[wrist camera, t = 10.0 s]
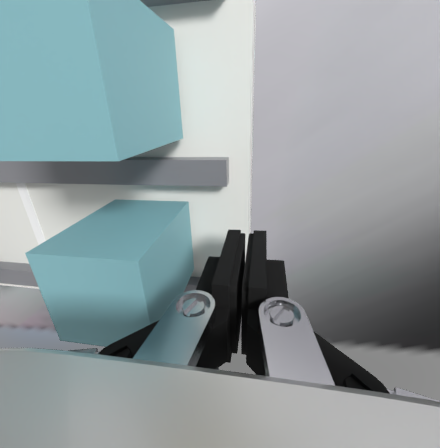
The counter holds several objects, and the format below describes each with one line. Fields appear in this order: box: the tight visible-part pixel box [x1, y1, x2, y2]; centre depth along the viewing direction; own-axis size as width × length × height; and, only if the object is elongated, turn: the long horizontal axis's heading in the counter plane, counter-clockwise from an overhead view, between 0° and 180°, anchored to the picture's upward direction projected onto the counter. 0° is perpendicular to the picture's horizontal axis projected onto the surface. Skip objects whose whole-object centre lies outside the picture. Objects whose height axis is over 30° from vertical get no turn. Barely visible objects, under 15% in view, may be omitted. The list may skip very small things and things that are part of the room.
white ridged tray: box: [0, 0, 256, 293], centre depth 12 cm, size 20×24×4 cm
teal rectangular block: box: [25, 199, 194, 347], centre depth 11 cm, size 4×4×6 cm
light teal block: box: [0, 0, 183, 161], centre depth 8 cm, size 4×4×6 cm
